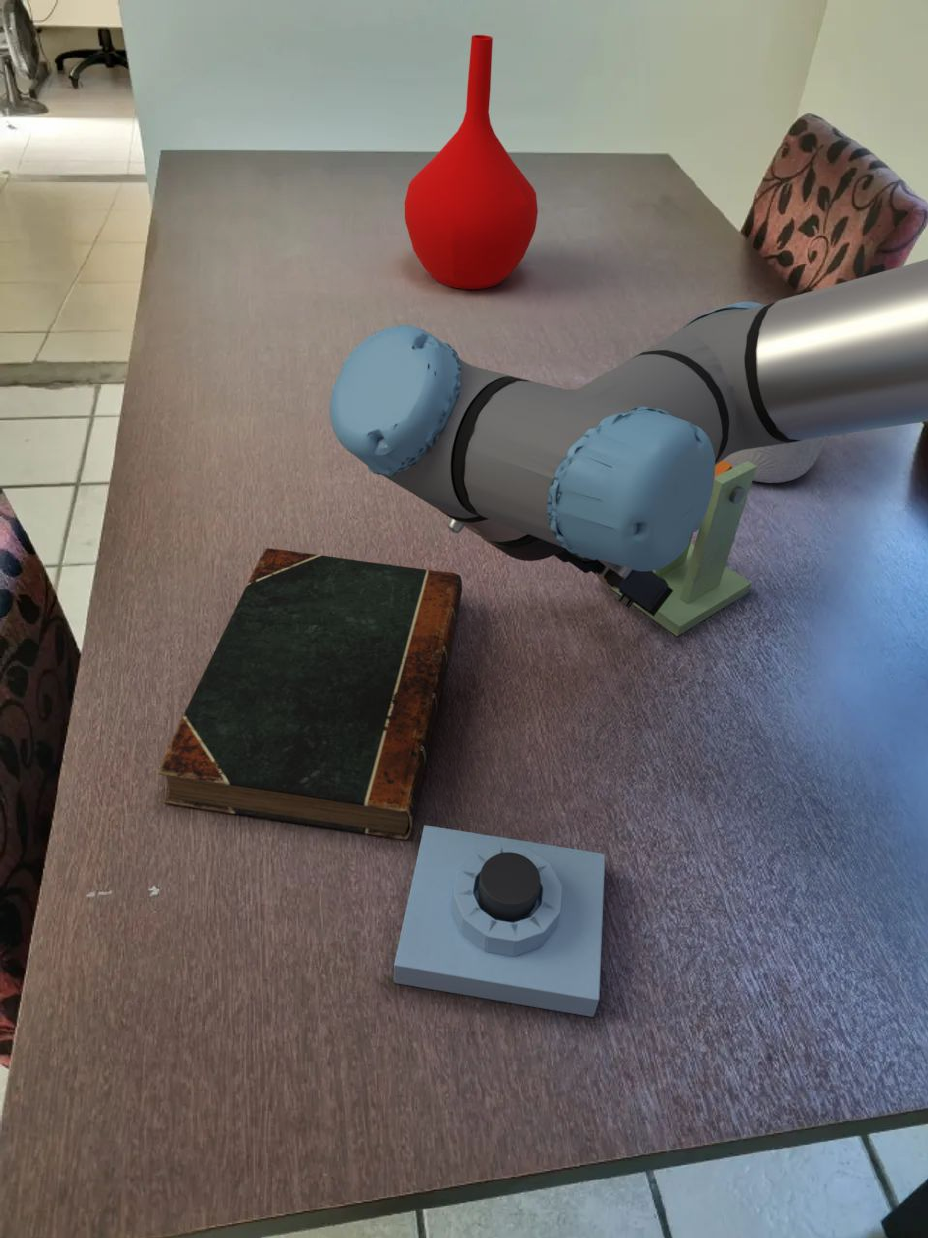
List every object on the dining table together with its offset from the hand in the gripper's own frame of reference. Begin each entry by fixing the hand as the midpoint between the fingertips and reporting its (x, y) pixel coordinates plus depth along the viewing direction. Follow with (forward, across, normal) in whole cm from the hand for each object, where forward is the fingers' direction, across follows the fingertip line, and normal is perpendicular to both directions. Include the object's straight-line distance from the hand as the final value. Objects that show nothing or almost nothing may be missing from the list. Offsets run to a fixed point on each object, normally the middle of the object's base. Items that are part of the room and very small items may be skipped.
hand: (640, 587), depth 80 cm
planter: (+24, -9, +18) cm, 32 cm away
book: (-16, -8, -21) cm, 28 cm away
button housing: (-18, +15, -22) cm, 33 cm away
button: (-21, +15, -20) cm, 32 cm away
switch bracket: (+7, 0, +2) cm, 7 cm away
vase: (+27, -65, +22) cm, 74 cm away
